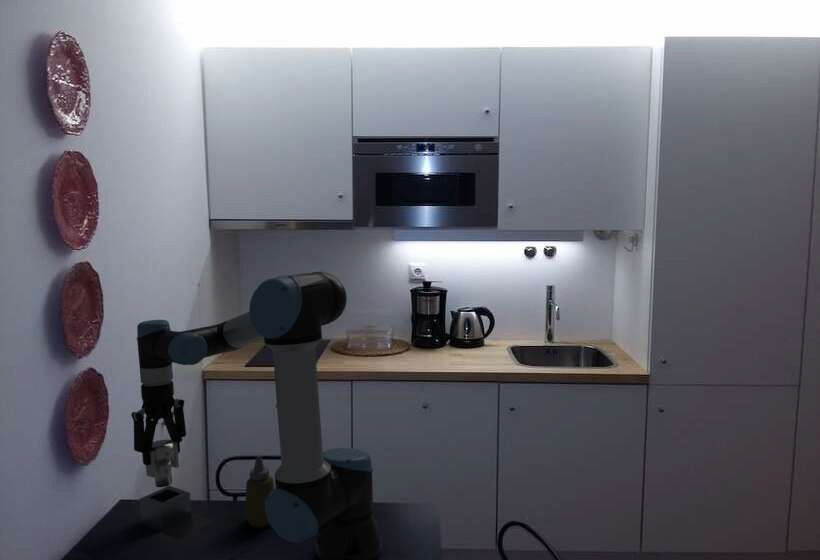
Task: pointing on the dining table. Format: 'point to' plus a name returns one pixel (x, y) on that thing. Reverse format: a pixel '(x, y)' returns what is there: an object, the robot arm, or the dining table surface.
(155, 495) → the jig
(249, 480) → the squeeze bottle
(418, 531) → the dining table surface
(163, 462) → the dark grey round knob
